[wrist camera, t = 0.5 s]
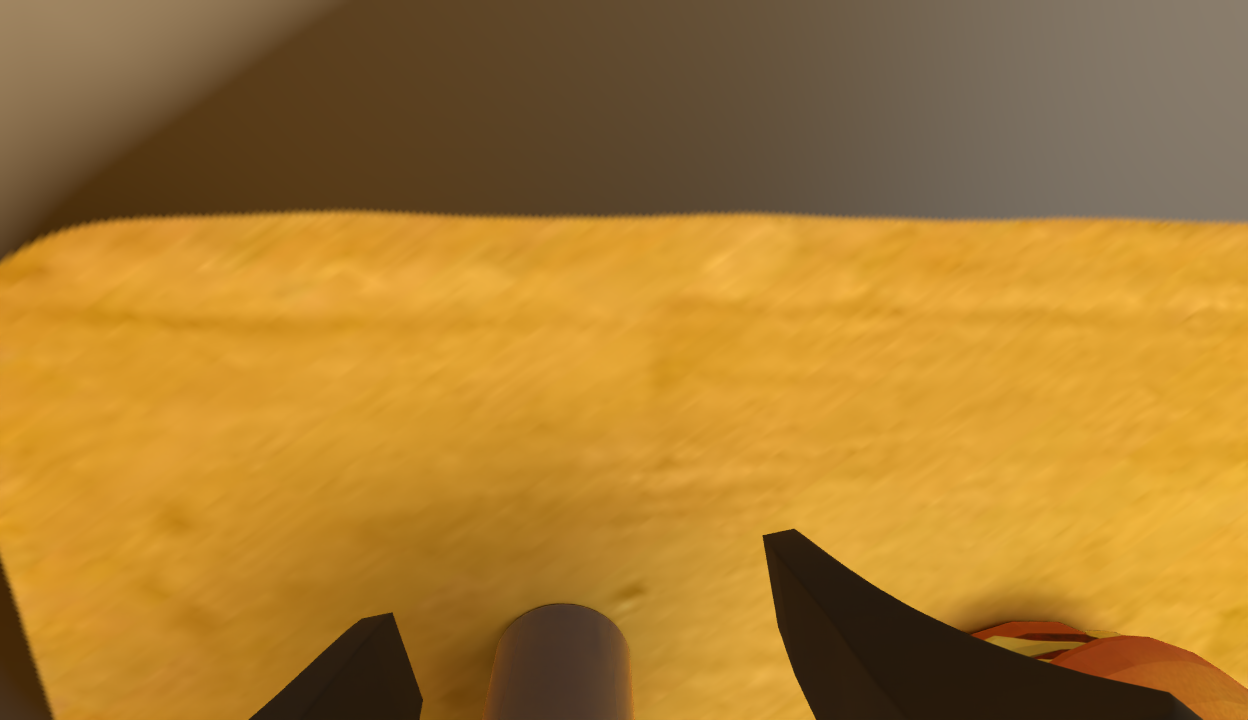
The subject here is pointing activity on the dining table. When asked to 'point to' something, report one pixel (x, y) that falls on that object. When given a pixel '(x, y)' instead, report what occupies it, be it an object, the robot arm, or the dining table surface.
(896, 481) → the dining table surface
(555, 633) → the spice jar
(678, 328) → the dining table surface
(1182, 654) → the cheeseburger
